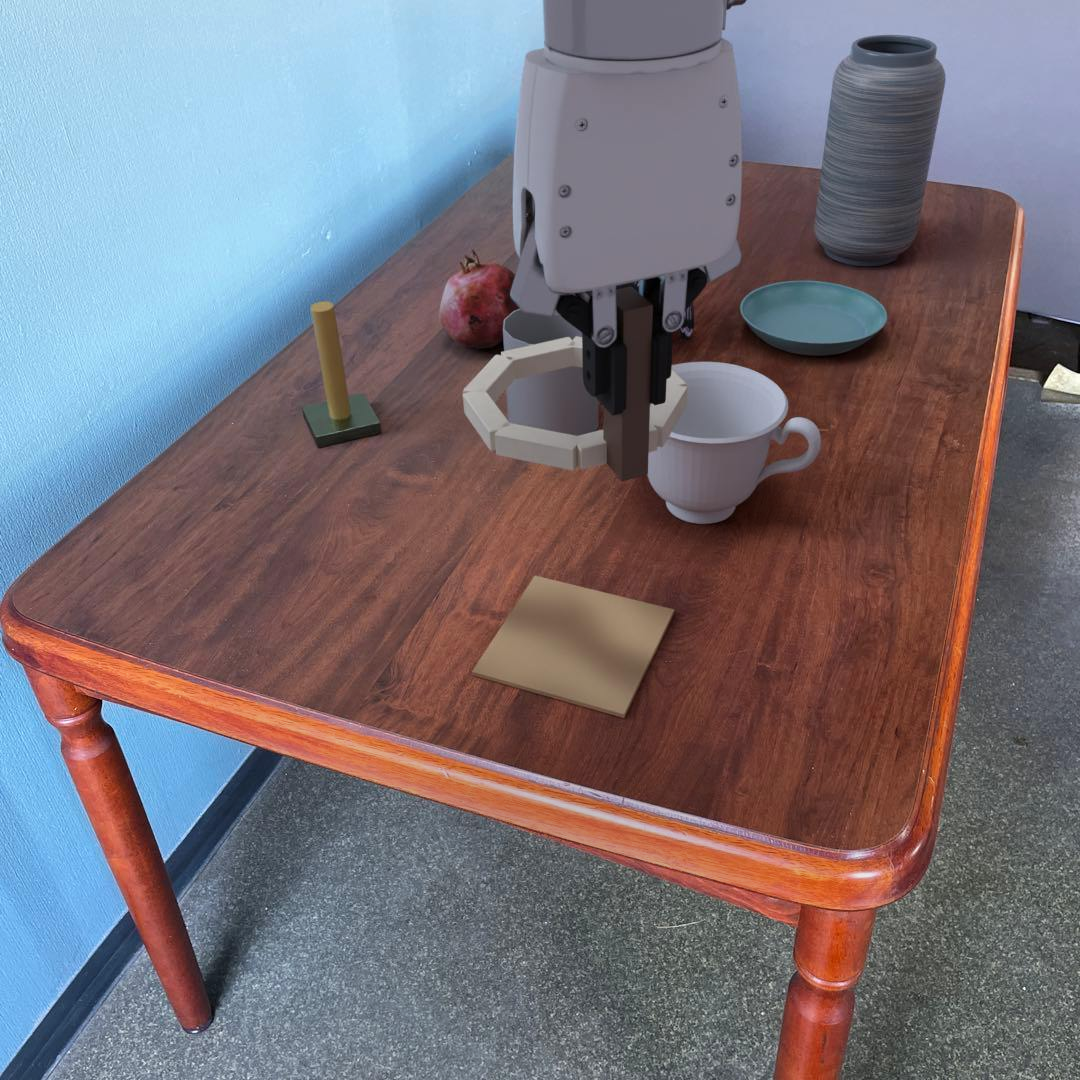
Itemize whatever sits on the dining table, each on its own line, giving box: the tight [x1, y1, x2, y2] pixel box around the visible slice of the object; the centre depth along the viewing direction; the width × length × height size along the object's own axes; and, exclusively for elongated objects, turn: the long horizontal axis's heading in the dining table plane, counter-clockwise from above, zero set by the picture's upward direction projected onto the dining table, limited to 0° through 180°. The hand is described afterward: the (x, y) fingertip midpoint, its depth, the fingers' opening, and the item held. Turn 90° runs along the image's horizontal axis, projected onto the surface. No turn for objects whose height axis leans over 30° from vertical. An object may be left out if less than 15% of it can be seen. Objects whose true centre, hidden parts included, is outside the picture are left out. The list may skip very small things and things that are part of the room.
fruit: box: [438, 248, 520, 350], centre depth 109 cm, size 9×10×10 cm
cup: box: [503, 309, 599, 436], centre depth 96 cm, size 8×8×10 cm
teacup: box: [647, 361, 822, 525], centre depth 85 cm, size 12×15×10 cm
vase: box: [813, 34, 946, 267], centre depth 120 cm, size 12×12×23 cm
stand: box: [301, 300, 382, 449], centre depth 96 cm, size 6×6×12 cm
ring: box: [462, 287, 688, 482], centre depth 60 cm, size 14×12×10 cm
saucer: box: [739, 280, 888, 357], centre depth 111 cm, size 15×15×3 cm
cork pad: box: [471, 575, 676, 719], centre depth 76 cm, size 11×11×1 cm
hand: (626, 395), depth 56 cm, fingers closed on ring
